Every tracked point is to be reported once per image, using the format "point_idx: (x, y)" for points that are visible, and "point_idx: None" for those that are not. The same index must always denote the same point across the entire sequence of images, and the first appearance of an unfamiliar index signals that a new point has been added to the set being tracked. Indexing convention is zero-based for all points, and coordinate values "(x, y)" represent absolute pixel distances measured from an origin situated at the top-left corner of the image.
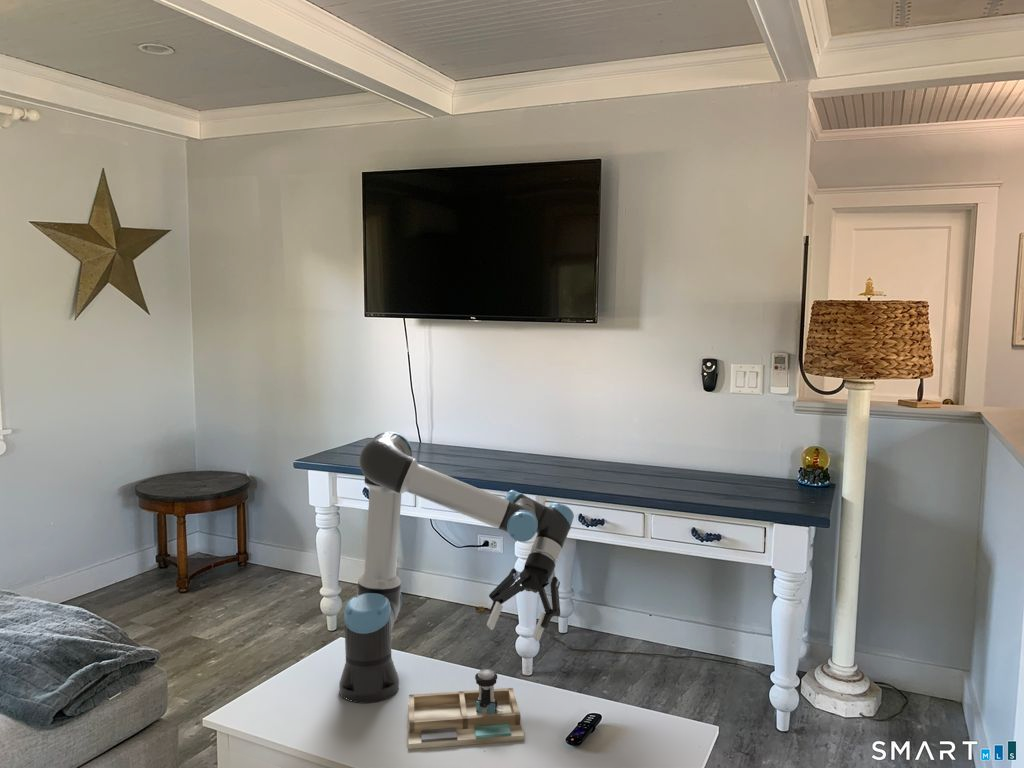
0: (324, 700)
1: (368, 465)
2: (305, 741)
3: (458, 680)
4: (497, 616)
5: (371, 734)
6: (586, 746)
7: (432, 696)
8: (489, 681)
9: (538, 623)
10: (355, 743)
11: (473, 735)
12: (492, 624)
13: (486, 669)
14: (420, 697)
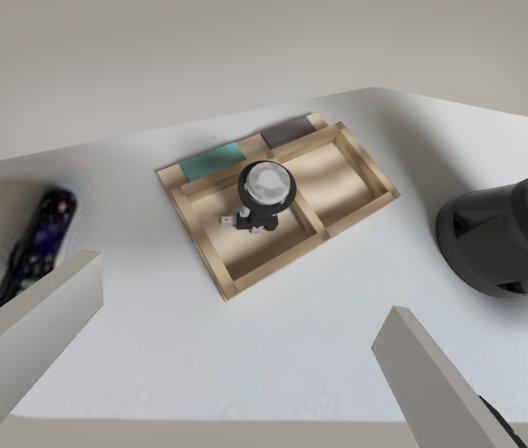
0: None
1: None
2: (430, 106)
3: None
4: (417, 418)
5: (379, 135)
6: (28, 191)
7: (363, 206)
8: (248, 165)
9: (13, 311)
10: (380, 115)
11: (242, 150)
12: (390, 344)
13: (276, 193)
14: (379, 197)
